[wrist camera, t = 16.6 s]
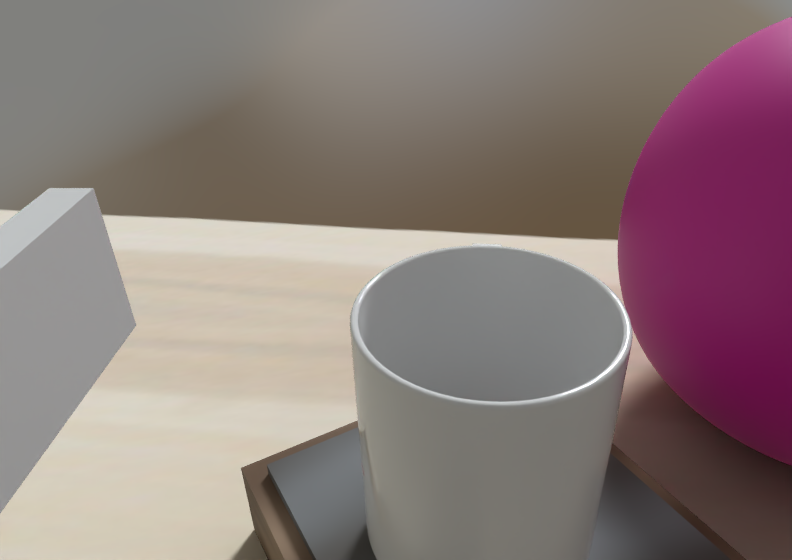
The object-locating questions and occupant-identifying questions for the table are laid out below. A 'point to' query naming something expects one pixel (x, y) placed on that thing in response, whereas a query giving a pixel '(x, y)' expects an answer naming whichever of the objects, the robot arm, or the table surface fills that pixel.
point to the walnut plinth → (346, 522)
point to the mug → (486, 404)
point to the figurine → (720, 243)
